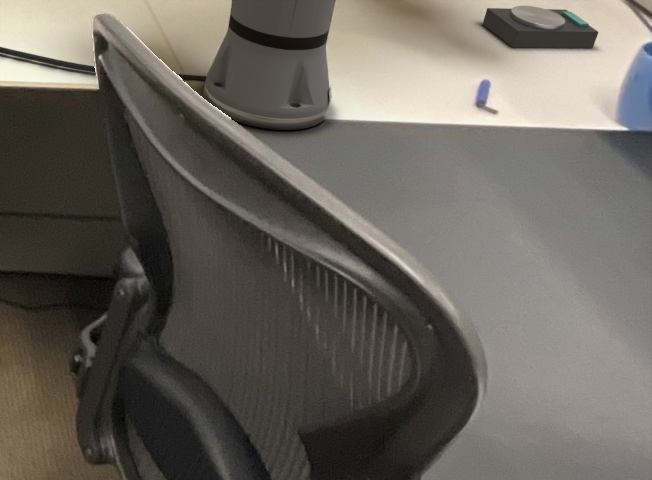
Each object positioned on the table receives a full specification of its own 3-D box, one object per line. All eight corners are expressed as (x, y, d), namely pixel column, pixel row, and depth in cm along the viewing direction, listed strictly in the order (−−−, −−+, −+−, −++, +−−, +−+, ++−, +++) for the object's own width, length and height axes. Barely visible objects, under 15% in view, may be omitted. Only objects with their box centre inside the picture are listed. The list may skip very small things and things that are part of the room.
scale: (512, 47, 160) (519, 26, 158) (482, 24, 166) (488, 3, 164) (592, 48, 164) (600, 27, 162) (560, 25, 170) (567, 5, 168)
